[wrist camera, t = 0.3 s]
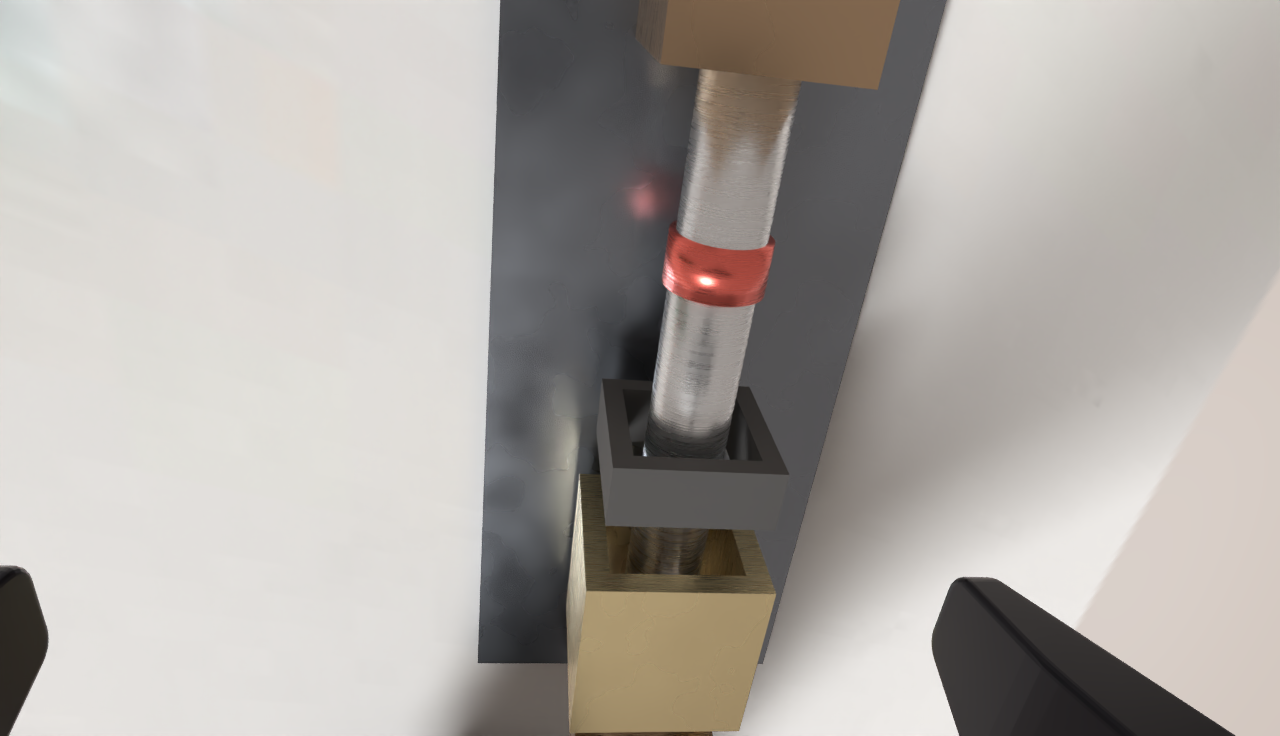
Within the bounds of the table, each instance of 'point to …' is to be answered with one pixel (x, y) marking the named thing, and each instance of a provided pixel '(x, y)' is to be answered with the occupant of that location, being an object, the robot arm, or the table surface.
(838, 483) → the table surface
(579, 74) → the pipe rig
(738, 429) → the dark grey square collar
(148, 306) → the table surface
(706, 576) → the sleeve
